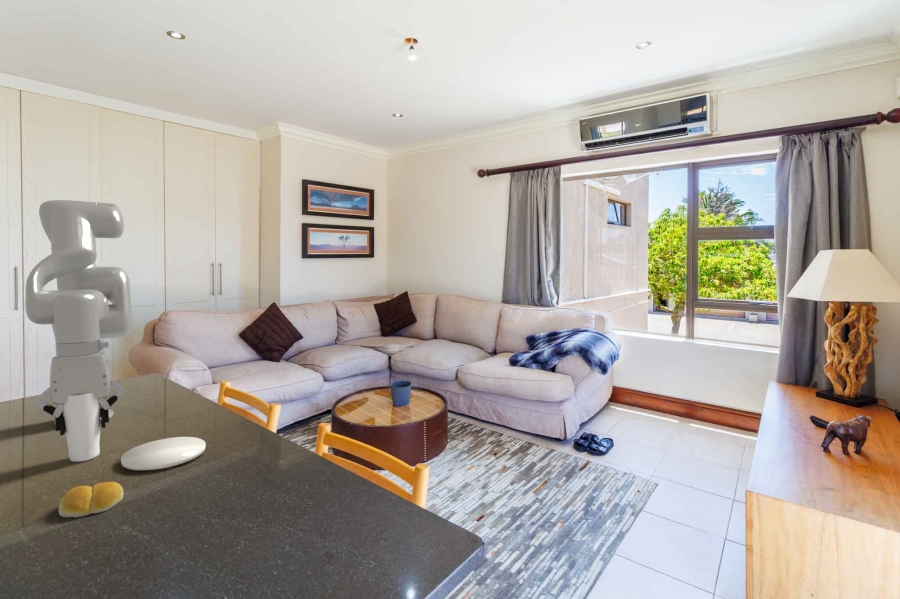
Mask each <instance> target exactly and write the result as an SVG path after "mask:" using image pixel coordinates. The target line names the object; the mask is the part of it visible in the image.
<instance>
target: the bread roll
mask: <svg viewBox="0 0 900 599" xmlns="http://www.w3.org/2000/svg"><path fill="white" fill-rule="evenodd" d="M123 497H124V488H123V487H122V485H121V484H120V483H118V482H116V481H105V482H104V481H103V482H99V483H96V484H94V485H93V486H90V485H89V486H88V485H80V486H75V487H72V488H71V489H69V490H68V491H67V492H66V493H65V494H64V496H63V497H61V499H60V502H59V506H58V514H59V516H60V517H63V518H70V517H74V518H80V517H85V516H88V515H91V514H98V513H99V514H100V513H103V512H105V511H108V510H109V509H111V508H113V507H115V506H116V505H117V504H118V503H119V502H121V501H122V500H123V499H124V498H123ZM74 518H73V519H74Z"/></svg>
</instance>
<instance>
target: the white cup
mask: <svg viewBox="0 0 900 599" xmlns="http://www.w3.org/2000/svg"><path fill="white" fill-rule="evenodd" d="M63 405H64V408H63V410H62V415H63V417H64V427H65V438H66V443H67V451H68V460H69V461H70V462H73V463H82V462H87V461H90V460H92V459H94V458H97V457H99V455H100V453H101V448H100V447H101V446H100V440H101V422H100V421H101V404H100V403H99V401H98V399H95V398H94V395H93V393H88V394H82V395H73V396H68V400H67V403H65V404H63Z"/></svg>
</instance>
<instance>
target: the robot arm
mask: <svg viewBox="0 0 900 599" xmlns="http://www.w3.org/2000/svg"><path fill="white" fill-rule="evenodd" d="M38 211H39V212H38V213H39V219H40V222H41V223H40V224H41V226H42V228H43V229H42V230H43V231H44V233H45V235H46V236H47V238H48V240H49V242H50V244H51V245H50V250H51V254H49V255H47V256H46V257H44V258H43V259H41V260H40V261H39V262H38V263H37V264H36V265H35V266H34V267H33V268H32V270H31V271H30V272H29V273H28V276H27V279H26V281H25V299H24V300H25V301H24V302H25V305H24V306H25V313H26V316H27V318H28V319H29V321H30V322H31V323H33V324H36V325H51V327H52V332H53V335H54V340H55V353H56V354H55V356H52V357H51V362H50V368H49V387H48V388H46V389H45V390H44V391H43V392H42V393H41V394H39V395H38V396H37V397H36V398H35V399H34V400H33V402H32V404H33V405H34V406H36V408H37V407H38V408H39V409H41V410H43V412H45V413H47V414H48V415H51V416H52V417H53V418H54V425H55V432H59V434H60V436H64V435H66V433H65V427H64V417H63V415H62V410H63V408H64V405H63V404H65V403H67V400H68V396H73V395H82V394H88V393H93V395H94V398H95V399H98V401H99V403H100V404H101V421H100V428H102V429H105V428H106V424H107V423H110V419H111V418H112V417H113V416H114V411H113V409H110V408H111V407H112V406H113V405H114V404H115V403H116V402H117V401H118V400H119V398H121V396H123V394H124V393H125V392H126V388H125V387H124V386H122V385H120V384H119V383H117V382H115V381H114V380H112V379H110V372H109V363H108V359H107V356H106V352H104V351H103V349H105V348H109V341H102V340H104V339H117V338H124V337H127V336H129V335H130V334H131V333H132V331H133V324H134V323H133V320H134V319H133V312H132V311H133V309H132V296H131V285H130V280H129V276H128V274H127V272H126V271H125V270H124V269H123V268H122V267H116V266H97V265H96V264H97V263H96V261H97V257H98V255H97V244H96V241H97V240H96V238H97V239H119V238H120V237H122V235H123V234H124V228H125V224H124V216H123V213H122V211H121V209H120V208H119V206H117V204H114V203H109V202H99V201H98V202H97V201H83V200H82V201H81V200H72V199H52V200H46V201H44V202H42V203H41V204H40V205H39V210H38ZM55 279H56V287H57V289H56V290H54V289H53V290H43V289H44V287H45V286H46V285H47V284H48V283H49V282H51V281H53V280H55ZM109 302H110V303H111V304H109ZM101 350H102V351H101ZM111 389H112V390H114V391H115V392H114V393H113V394H112V395H111V396H109V395H110V393H111ZM49 397H50V401H51V403H52V404H55V405H56V406H53V405H52V404H49V403H48V402H46V399H48V398H49ZM107 397H109V398H107Z"/></svg>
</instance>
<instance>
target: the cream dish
mask: <svg viewBox="0 0 900 599" xmlns="http://www.w3.org/2000/svg"><path fill="white" fill-rule="evenodd" d="M206 446H207V445H206V441H205V440H204V439H203V438H202V439H201V438H199V437H194V436H175V437H168V438H167V437H166V438H162V439H157V440H153V441H149V442H146V443H143V444H139V445H137V446H134V447H133V448H131V449H129V450H127V451H126V452H125V453H123V454H122V456H120V464H121V466H122V467H123V468H125V469H127V470H132V471H152V470H160V469H161V470H162V469H166V468H171V467H174V466H178V465H181V464H184V463H186V462H189V461H190V462H191V461H192V460H194V459H196V458H197V457H199V456H201V455H202V454H203V453H204V452H205V451H206V449H207V448H206Z"/></svg>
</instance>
